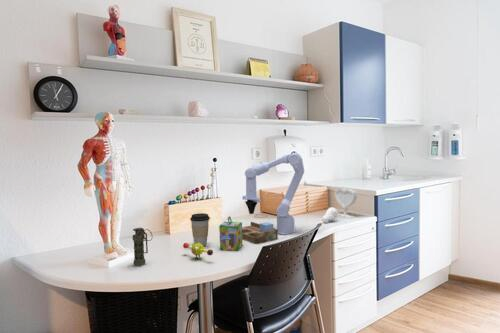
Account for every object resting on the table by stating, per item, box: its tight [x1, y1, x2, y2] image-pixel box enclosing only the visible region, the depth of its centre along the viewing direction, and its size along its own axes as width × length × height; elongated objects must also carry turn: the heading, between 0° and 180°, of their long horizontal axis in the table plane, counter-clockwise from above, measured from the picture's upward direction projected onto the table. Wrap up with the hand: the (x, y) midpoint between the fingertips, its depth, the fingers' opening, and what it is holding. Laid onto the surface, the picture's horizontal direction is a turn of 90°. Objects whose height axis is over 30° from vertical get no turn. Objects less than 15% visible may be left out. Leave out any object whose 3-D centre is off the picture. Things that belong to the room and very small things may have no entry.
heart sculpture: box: [334, 187, 358, 219], centre depth 227 cm, size 16×5×18 cm, turn 34°
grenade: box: [132, 227, 153, 267], centre depth 141 cm, size 9×6×15 cm, turn 132°
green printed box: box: [218, 215, 243, 251], centre depth 162 cm, size 9×9×15 cm
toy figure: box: [182, 242, 214, 260], centre depth 147 cm, size 18×6×7 cm, turn 50°
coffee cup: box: [189, 212, 211, 248], centre depth 166 cm, size 9×9×15 cm
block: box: [259, 221, 274, 233], centre depth 175 cm, size 5×5×5 cm
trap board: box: [242, 221, 279, 245], centre depth 180 cm, size 14×22×5 cm, turn 36°
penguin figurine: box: [321, 206, 339, 224], centre depth 210 cm, size 6×8×12 cm
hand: (251, 213), depth 191 cm, fingers closed
